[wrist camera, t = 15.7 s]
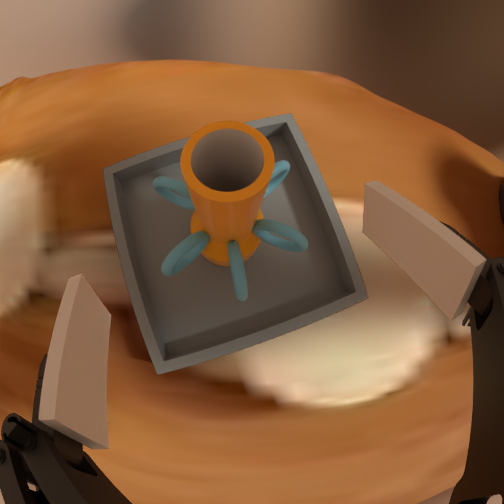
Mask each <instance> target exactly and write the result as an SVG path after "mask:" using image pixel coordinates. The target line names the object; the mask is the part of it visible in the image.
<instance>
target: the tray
mask: <svg viewBox="0 0 504 504" xmlns="http://www.w3.org/2000/svg"><path fill="white" fill-rule="evenodd" d="M244 124H247V125H249V126H252V127H253V128H255V129H257V130H258V131H259V132H261V133H262V134H263V135H264V136H265V137H266V139H267V140H268V141H269V143H270V145H271V147H272V149H273V152H274V158H275V163H276V162H278V161H281V160H285V161H288V162H289V164H290V170H289V172H288V174H287V175H286V177H285V178H284V179H283V180H282V182H281V183H280V184H279V185H278V186H277V187H276V188H275V189H274V190H273V191H272V192H271V193H270V194H268V195H267V196H266V197H265V198H263V201H262V204H261V207H260V209H261V211H262V214H263V217H264V219H268V220H273V221H277V222H280V223H283V224H285V225H288V226H290V227H292V228H294V229H295V230H297V231H299V232H300V233H301V234H302V235H304V236H305V238H306V239H307V241H308V248H307V249H306V250H305V251H303V252H291V251H286V250H283V249H280V248H277V247H275V246H273V245H270V244H268V243H266V242H265V241H263V240H261V242H260V244H259V246H258V247H257V249H256V251H255V252H254V254H253V255H252V256H251V257H250V258H249V259H248V260H247V261H245V262H243V264H244V269H245V275H246V281H247V288H248V298H247V300H245V301H243V302H241V301H239V300H238V299H237V297H236V293H235V289H234V284H233V278H232V273H231V267H224V266H219V265H216V264H213V263H212V262H210V261H208V260H207V259H206V258H205V257H204V256H203V255H202V254H200V255H199V256H198V257H197V258H196V259H195V260H194V261H192V262H191V263H190V264H189V265H188V266H187V267H185V268H184V269H183V270H181V271H180V272H178V273H177V274H175V275H172V276H165V275H164V274H163V273H162V271H161V266H162V264H163V262H164V260H165V258H166V257H167V256H168V254H169V253H170V252H171V251H172V250H173V249H174V248H175V247H176V246H177V245H178V244H179V243H180V242H182V241H183V240H184V239H186V238H187V237H188V236H190V235H192V234H191V226H190V225H191V218H192V214H193V212H194V210H189V209H186V208H183V207H180V206H178V205H176V204H174V203H172V202H170V201H168V200H167V199H165V198H164V197H162V196H161V195H160V194H158V193H157V192H156V191H155V189H154V188H153V181H154V179H155V178H157V177H159V176H166V177H170V178H174V179H176V180H179V181H181V182H183V183H185V180H184V177H183V174H182V171H181V164H180V161H181V154H182V151H183V148H184V146H185V144H186V142H187V141H188V140H189V138H190V137H188V138H185V139H182V140H179V141H175V142H172V143H169V144H166V145H163V146H160V147H158V148H155V149H152V150H149V151H146V152H144V153H141V154H138V155H136V156H133V157H130V158H128V159H125V160H123V161H120V162H118V163H115V164H113V165H111V166H108V167H106V168H104V169H103V173H104V181H105V187H106V194H107V200H108V206H109V211H110V217H111V222H112V227H113V232H114V237H115V241H116V246H117V250H118V254H119V258H120V262H121V266H122V270H123V274H124V278H125V281H126V285H127V288H128V292H129V295H130V299H131V302H132V305H133V308H134V312H135V315H136V318H137V321H138V324H139V327H140V330H141V333H142V336H143V338H144V341H145V344H146V347H147V349H148V352H149V355H150V357H151V360H152V362H153V365H154V367H155V370H156V372H157V375H159V374H162V373H166V372H170V371H174V370H177V369H181V368H184V367H188V366H191V365H195V364H198V363H202V362H205V361H208V360H211V359H215V358H218V357H221V356H224V355H227V354H230V353H233V352H236V351H239V350H242V349H245V348H248V347H251V346H254V345H256V344H259V343H262V342H265V341H267V340H270V339H273V338H275V337H278V336H281V335H283V334H286V333H289V332H291V331H294V330H296V329H299V328H301V327H304V326H306V325H309V324H311V323H313V322H316V321H318V320H321V319H323V318H325V317H328V316H330V315H332V314H334V313H337V312H339V311H341V310H343V309H346V308H348V307H350V306H352V305H354V304H357V303H359V302H361V301H363V300H365V299H367V298H368V295H367V292H366V289H365V286H364V283H363V280H362V277H361V274H360V271H359V268H358V265H357V262H356V259H355V257H354V254H353V251H352V248H351V246H350V243H349V240H348V238H347V235H346V232H345V230H344V227H343V225H342V222H341V220H340V217H339V215H338V212H337V210H336V207H335V205H334V203H333V200H332V198H331V195H330V193H329V191H328V189H327V186H326V184H325V182H324V179H323V177H322V175H321V173H320V171H319V168H318V166H317V164H316V162H315V160H314V158H313V156H312V153H311V151H310V149H309V147H308V145H307V143H306V141H305V139H304V137H303V135H302V133H301V131H300V129H299V127H298V125H297V123H296V121H295V119H294V117H293V116H292V114H291V113H290V114H284V115H278V116H273V117H268V118H263V119H258V120H254V121H249V122H245V123H244ZM185 184H186V183H185ZM169 190H171V189H169ZM171 191H172V192H174V193H176V194H177V195H179V196H182V197H184V198H186V197H185V196H183V195H181V194H180V193H178V192H176V191H173V190H171ZM187 199H188V198H187ZM268 232H269V231H268ZM269 233H271V234H273V235H275V236H277V237H279V238H282V239H285V240H288V241H291V240H289V239H287V238H285V237H283V236H281V235H279V234H276V233H273V232H269Z"/></svg>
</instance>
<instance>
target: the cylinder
mask: <svg viewBox="0 0 504 504" xmlns="http://www.w3.org/2000/svg"><path fill="white" fill-rule="evenodd" d="M180 164H181V171H182V174H183V177H184V180H185V183H186V184H185V183H183V182H181V181H179V180H176V179H174V178H170V177H166V176H159V177H157V178H155V179H154V181H153V188H154V189H155V191H156V192H157V193H158V194H160V195H161V196H162V197H164V198H165V199H167V200H168V201H170V202H172V203H174V204H176V205H178V206H180V207H183V208H186V209H189V210H194V212H193V214H192V218H191V225H190V226H191V234H192V235H190V236H188V237H187V238H186V239H184V240H183V241H182V242H180V243H179V244H178V245H177V246H176V247H175V248H174V249H173V250H172V251H171V252H170V253H169V254H168V256H167V257H166V258H165V260H164V262H163V264H162V266H161V271H162V273H163V274H164V275H165V276H172V275H175V274H177V273H178V272H180V271H181V270H183V269H184V268H185V267H187V266H188V265H189V264H190V263H191V262H192V261H194V260H195V259H196V258H197V257H198V256H199V255H200V254H202V255H203V256H204V257H205V258H206V259H207V260H208V261H210V262H212V263H213V264H216V265H219V266H224V267H231V273H232V278H233V284H234V289H235V293H236V297H237V299H238V300H239V301H241V302H243V301H245V300H247V298H248V288H247V281H246V275H245V269H244V264H243V262H245V261H247V260H248V259H249V258H250V257H251V256H252V255H253V254H254V252H255V251H256V249H257V247H258V246H259V244H260V242H261V240H263V241H265V242H266V243H268V244H270V245H273V246H275V247H277V248H280V249H283V250H286V251H291V252H303V251H305V250H306V249H307V248H308V241H307V239H306V238H305V236H304V235H302V234H301V233H300V232H299V231H297V230H295V229H294V228H292V227H290V226H288V225H285V224H283V223H280V222H277V221H273V220H268V219H264V217H263V214H262V211H261V209H260V207H261V204H262V201H263V198H265V197H266V196H267V195H268V194H270V193H271V192H272V191H273V190H274V189H275V188H276V187H277V186H278V185H279V184H280V183H281V182H282V180H283V179H284V178H285V177H286V175H287V174H288V172H289V170H290V164H289V162H288V161H285V160H281V161H278V162H276V163H275V158H274V152H273V149H272V147H271V145H270V143H269V141H268V140H267V139H266V137H265V136H264V135H263V134H262V133H261V132H259V131H258V130H257V129H255V128H253V127H252V126H249V125H247V124H244V123H240V122H235V121H221V122H216V123H212V124H209V125H207V126H205V127H203V128H201V129H199V130H198V131H197V132H195V133H194V134H193V135H192V136H191V137H190V138H189V140H188V141H187V142H186V144H185V146H184V148H183V151H182V154H181V161H180ZM169 189H171V190H173V191H176V192H178V193H180V194H181V195H183V196H185V197H186V198H184V197H182V196H179V195H177V194H176V193H174V192H172V191H171V190H169ZM187 198H188V199H187ZM268 231H269V232H273V233H276V234H279V235H281V236H283V237H285V238H287V239H289V240H291V241H288V240H285V239H282V238H279V237H277V236H275V235H273V234H271V233H269V232H268Z"/></svg>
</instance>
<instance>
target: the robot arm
mask: <svg viewBox="0 0 504 504" xmlns="http://www.w3.org/2000/svg"><path fill="white" fill-rule="evenodd" d="M500 206H501V213H502V217H503V222H504V181H503V182H502V184H501V187H500ZM362 232H363V233H364V234H365V235H366V236H367V237H368V238H369V239H370V240H372V241H373V242H374V243H375V244H376V245H377V246H378V247H379V248H380V249H381V250H382V251H383V252H384V253H385V254H387V255H388V256H389V257H390V258H391V259H392V260H393V261H394V262H395V263H396V264H397V265H398V266H399V267H400V268H401V269H402V270H403V271H404V272H405V273H406V274H407V275H408V276H409V277H410V278H411V279H412V280H413V281H414V282H415V283H416V284H417V285H418V286H419V287H420V288H421V289H422V290H423V291H424V292H425V294H426V295H427V296H428V297H429V298H430V299H431V300H432V301H433V302H434V303H435V304H436V305H437V306H438V308H439V309H440V310H441V311H442V312H443V313H444V314H445V315H446V316H447V318H448V319H449V320H450V321H452V320H453V319H454V318H456V317H457V316H458V315H460V314H461V313H462V312H463V310H464V308H465V306H466V304H467V302H468V303H469V304H470V305H471V307H470V309H469V311H468V313H467V314H466V316H465V318H464V320H463V323H462V326H465V324H466V322H467V321H468V319H469V318H470V321H469V323H468V325H467V326H471V336H472V349H473V377H474V385H473V412H472V424H471V434H470V442H469V449H468V455H467V461H466V466H465V471H464V474H463V476H462V478H461V479H460V480H459V482H458V483H457V484H456V486H455V488H454V490H453V492H452V496H451V499H450V502H449V504H486V503H487V501H488V499H489V498H490V497H491V496H493V495H497V494H500V495H501V496H502V499H503V500H502V504H504V258H501V257H496V258H494V259H493V260H492V259H491V258H489V257H488V256H487V255H486V254H485V253H483V252H482V251H481V250H480V249H479V248H478V247H476V246H475V245H474V244H473V243H471V242H470V241H469V240H468V239H467V240H466V238H465V237H464V236H463V235H461V234H459V232H457V231H456V230H455V229H454V228H452V227H451V226H449V225H447V224H445V223H443V222H440V221H438V220H436V219H435V218H434V217H432V216H431V215H430V214H428V213H427V212H425V211H424V210H422V209H421V208H419V207H418V206H417V205H415V204H414V203H412V202H411V201H409V200H408V199H406V198H405V197H403V196H401V195H400V194H398V193H397V192H395V191H394V190H392V189H390V188H389V187H387V186H386V185H384V184H382V183H381V182H379V181H377V180H376V181H372V182H368V183H365V184H364V214H363V231H362ZM110 323H111V314H110V313H109V311H108V310H107V309H106V307H105V306H104V305H103V303H102V302H101V300H100V299H99V297H98V296H97V295H96V293H95V292H94V290H93V289H92V287H91V286H90V284H89V283H88V281H87V280H86V278H85V277H84V275H83V274H82V273H80V274H78V275H75V276H72V277H70V278H69V279H68V282H67V285H66V288H65V291H64V294H63V298H62V301H61V304H60V307H59V311H58V314H57V318H56V322H55V326H54V329H53V333H52V338H51V342H50V346H49V351H48V354H45V356H44V358H43V360H42V362H41V364H40V368H39V373H38V380H37V385H36V387H37V389H36V392H35V399H34V407H33V417H32V423H30V422H28V421H27V420H25V419H24V418H22V417H21V416H19V415H18V414H15V413H11V414H9V415H8V416H7V417H6V418H5V420H4V422H3V425H2V431H1V436H2V440H0V489H1V492H2V495H3V498H4V501H5V504H132V503H131V502H130V501H129V500H128V499H127V498H126V497H125V496H124V495H123V494H122V493H121V492H120V491H119V490H118V489H117V488H116V487H115V486H114V485H113V483H112V482H111V481H110V480H109V479H108V478H107V477H106V476H105V475H104V473H103V472H102V471H101V470H100V469H99V467H98V466H97V465H96V464H95V463H94V461H93V460H92V459H91V458H90V456H89V455H88V454H87V453H86V452H84V451H83V445H85V446H87V447H89V448H91V449H109V441H108V423H107V366H108V348H109V334H110ZM27 483H30V484H33V485H35V486H36V491H33V490H30V489H29V487H28V484H27Z"/></svg>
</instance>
